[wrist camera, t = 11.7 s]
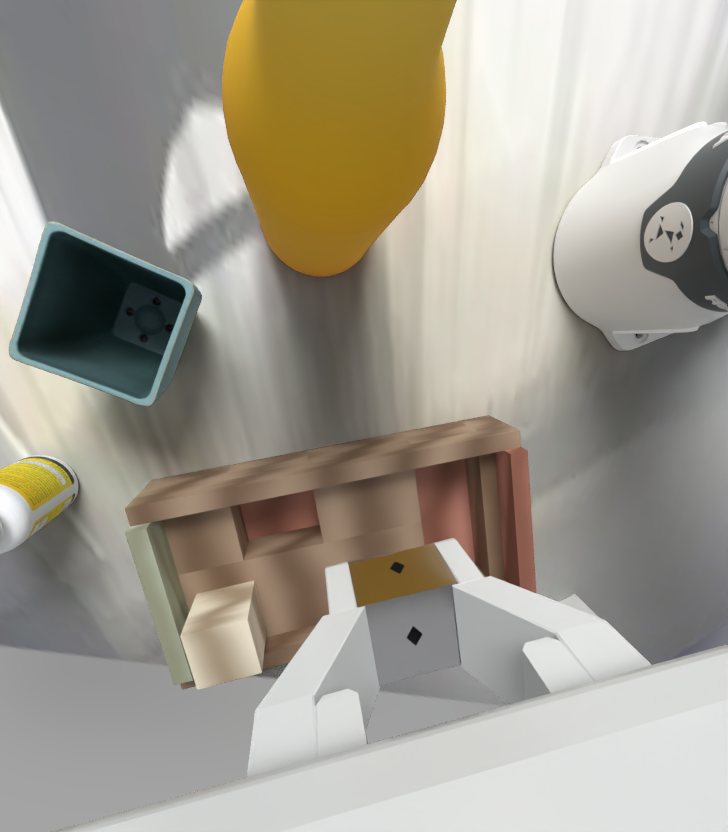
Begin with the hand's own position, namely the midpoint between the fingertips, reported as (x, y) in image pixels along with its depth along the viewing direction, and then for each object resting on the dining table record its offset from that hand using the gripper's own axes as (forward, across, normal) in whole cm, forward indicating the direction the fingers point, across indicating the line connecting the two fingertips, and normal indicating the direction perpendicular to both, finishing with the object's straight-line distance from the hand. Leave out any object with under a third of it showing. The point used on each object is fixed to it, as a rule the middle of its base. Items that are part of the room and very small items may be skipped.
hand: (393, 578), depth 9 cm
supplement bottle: (+29, +25, +4) cm, 39 cm away
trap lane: (+29, 0, +14) cm, 32 cm away
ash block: (+25, +11, +18) cm, 33 cm away
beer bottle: (+29, -2, -14) cm, 33 cm away
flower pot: (+29, +13, -8) cm, 33 cm away
